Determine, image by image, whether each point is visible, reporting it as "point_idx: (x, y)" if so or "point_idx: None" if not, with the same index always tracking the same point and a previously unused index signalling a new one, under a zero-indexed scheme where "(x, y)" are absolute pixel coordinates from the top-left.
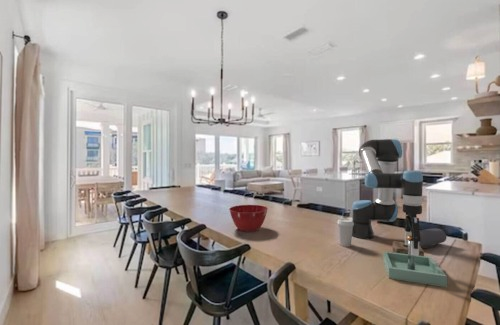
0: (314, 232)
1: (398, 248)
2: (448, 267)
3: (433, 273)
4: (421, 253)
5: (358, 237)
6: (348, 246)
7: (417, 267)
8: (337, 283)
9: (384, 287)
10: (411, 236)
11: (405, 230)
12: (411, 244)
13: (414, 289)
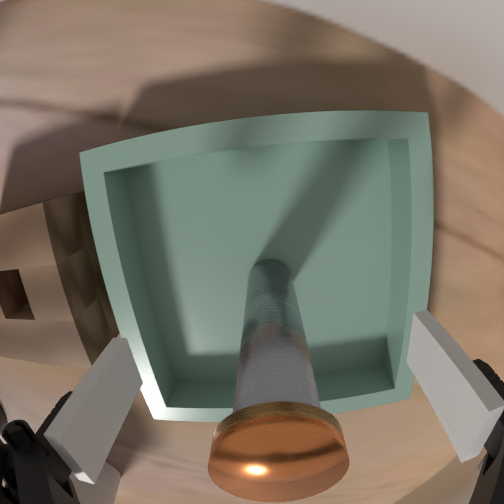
0: None
1: (86, 358)
2: (87, 69)
3: (420, 185)
4: (55, 215)
5: (3, 414)
6: (110, 465)
7: (214, 239)
8: (449, 454)
9: None
10: (257, 477)
11: (71, 485)
12: (447, 426)
13: (467, 274)
